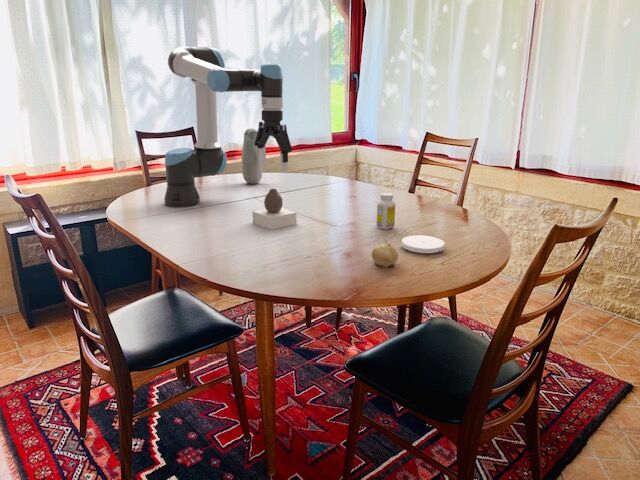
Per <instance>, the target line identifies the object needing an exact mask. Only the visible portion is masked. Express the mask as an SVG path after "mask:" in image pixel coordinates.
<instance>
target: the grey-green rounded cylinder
mask: <svg viewBox="0 0 640 480" xmlns="http://www.w3.org/2000/svg"><path fill="white" fill-rule="evenodd" d="M257 132H258V129H255V128H247V129H246V130H245V131H244V133H243V144H242V147H241V168H242V169H241V170H242V177H243V179H244V182H246V183H247V184H251V185H253V184H254V185H255V184H258V183H259V182H260V181H261V180H262V178H263V166H259V155H258V148H257V146H255V145H254V143H255V140H256V136H257Z"/></svg>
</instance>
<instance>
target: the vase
mask: <svg viewBox="0 0 640 480" xmlns="http://www.w3.org/2000/svg"><path fill="white" fill-rule="evenodd" d="M283 203H284V202H283V198H282V196H281V194H280V193H279V192H278V190H277V188H271V189H269V191H268V193H267V194H266V195H265V197H264V209H266V210H267V211H268V212H269V213H278V212H279V211H280V210H281V208H283Z"/></svg>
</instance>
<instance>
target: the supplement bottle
mask: <svg viewBox="0 0 640 480" xmlns="http://www.w3.org/2000/svg"><path fill="white" fill-rule="evenodd" d="M379 197H380V200H378V201H377V203H376V204H377V205H376V209H377V210H376V227H377V228H378V229H380V228H383V229H382V230H390V229H389V228H392V229H394V228H395V221H396V220H395V218H396V202H395V201H394V193H392V192H391V193H390V192H382V193H380V196H379ZM393 227H394V228H393Z"/></svg>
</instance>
